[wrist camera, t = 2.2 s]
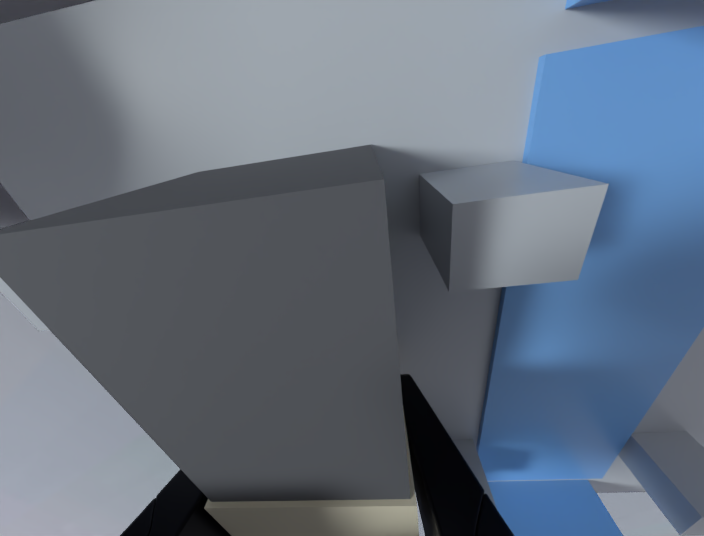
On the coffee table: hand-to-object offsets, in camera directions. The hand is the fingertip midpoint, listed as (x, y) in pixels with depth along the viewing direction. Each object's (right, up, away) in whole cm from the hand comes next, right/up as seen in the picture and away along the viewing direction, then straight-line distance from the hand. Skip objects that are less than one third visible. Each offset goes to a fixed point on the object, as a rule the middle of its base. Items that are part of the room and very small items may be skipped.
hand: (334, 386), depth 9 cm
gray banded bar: (0, 0, +1) cm, 1 cm away
